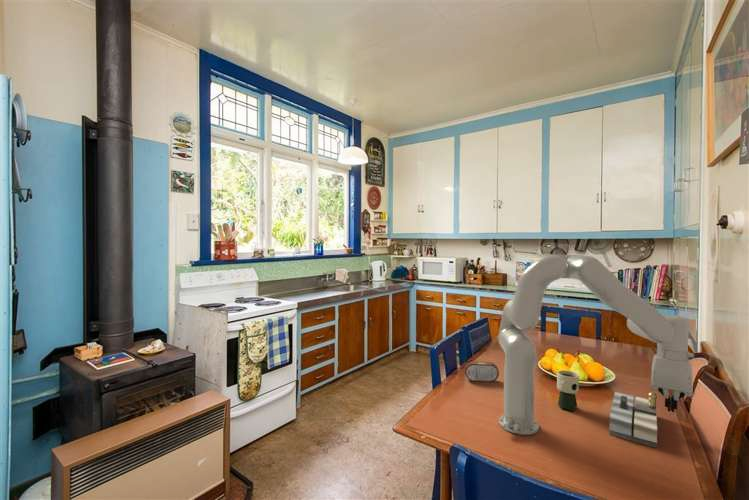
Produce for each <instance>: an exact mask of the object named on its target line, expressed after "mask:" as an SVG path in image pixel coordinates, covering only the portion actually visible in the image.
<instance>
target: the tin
mask: <svg viewBox="0 0 749 500" xmlns="http://www.w3.org/2000/svg"><path fill="white" fill-rule="evenodd" d="M499 370H500V369H498V367H497V365H496V364H495V363H494V362H489V361H470V362H468V363H466V364H465V366H464V367H463V372H464V375H465V377H466V379H468V381H471V382H480V383H481V382H482V383H483V382H484V383H487V382H488V383H493V382H495V381H497V379H498V378H499V375H500V371H499Z"/></svg>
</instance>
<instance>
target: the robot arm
mask: <svg viewBox="0 0 749 500" xmlns="http://www.w3.org/2000/svg"><path fill="white" fill-rule="evenodd" d="M560 279H573V280H578V281H579V282H581V284H583V285H584V287H586V288H587V289H588V290H589V292H591V293H592V294H593V295H594V296H595V297H596V298H597V299H598V300H599V301H600V302H601V303H602V304H604V305H605V306H607V307H608V308H609V309H611V310H613V311H616V312H617V313H619V314H621V315H622V316H624V317H625V318H627V320H626V326H627V328H628V329H629V331H630V332H631V333H633V334H635V335H637V336H639V337H641V338H643V339H646V340H649V341H650V342H653V343H656V346H657V347H656V354H654V355H653V358H652V363H651V371H650V372H651V373H650V374H651V375H650V378H651V379H650V380H651V381H650V383H649V387H650V389H653V390H655V391H657V392H658V393H660V394H661V395H662V396H663V397H664V407H665V408H667V411H668V412H672V413H675V410H678V401H679V400H680V399H682V398H684V397H686V398H687V397H690V398H691V397H694V396H695V394H694V391H693V387H694V382H693V381H694V380H693V367H692V362H691V360H690V359H693V358H695V354H694V353H692V352H690V351H689V350H688V348H689V321H688V319H687V318H686V317H684V316H680V315H676V314H662V313H661V312H660V311H659V310H658V309H657V308H656V307H655V306H653V305H652V304H651V303H649V302H648V301H646V300H645V299H644V298H642V297H641V296H640V295H638V294H637V293H636V292H634V291H633V290H632V289H630V288H629V287H628V286H626V285H625V284H624V283H622V281H621V280H620V279H618V277H617V276H616V275H615V274H613V273H612V271H610V270H609V269H608V268H607V267H606V266H605V265H604V264H603V263H602V262H601V261H600V260H599V259H597V258H595V257H594V256H591V255H590V256H589V255H580V254H557V253H556V254H553V253H540V254H537V255H535V256H534V257H533V258H532V259H530V265H529V266H528V267H527V268H526V269H524V271H523V273H521V275H520V277H519V279H518V281H517V285H516V289H515V293H514V297H512V298H511V299H510V300H508V301H507V302H506V303H505V305H504V306H503V311H502V313H501V314H502V315H501V319H500V320H501V321H500V325H499V330H498V343H499V346H500V347H501V349H502V350H503V351H504V354H505V355H504V356H505V357H504V358H505V359H504V366H503V367H504V368H503V414H501V415H500V416H499V418H498V423H499V425H500V427H501V428H502V429H504V430H505V431H508V432H510V433H513V434H514V435H515V434H516V435H520V436H530V435H534V434H537V433H538V432H539V430H540V426H539V422H538V421H537V420H536V419H535V367H536V360H537V347H536V345H535V343H534V341H533V340H532V338H531V337H529V336H528V335H527V332H529V331H532V330H534V329H535V328H536V327H537V326H538V323H539V321H540V314H541V309H542V302H543V298H544V294H545V291H546V289H547V288H548V286H549V285H550V284H551V283H553V282H555V281H557V280H560ZM669 390H670V391H673V394H672V396H671V395H670V394H669Z"/></svg>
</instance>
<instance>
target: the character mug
mask: <svg viewBox="0 0 749 500" xmlns="http://www.w3.org/2000/svg"><path fill="white" fill-rule="evenodd" d="M579 379H580V375H579V374H578V373H576V372H574V371H571V370H564V369H563V370H561V369H560V370H558V371H557V372H556V388H557V390H558V391H559V395H558V402H557V404H558V406H559V407H561V408H563V409H565V410H567V411H576V410H577V408H578V403H577V397H576V394H578V393H579V390H580V389H579V387H580V383H579V381H580V380H579Z"/></svg>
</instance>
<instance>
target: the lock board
mask: <svg viewBox="0 0 749 500" xmlns="http://www.w3.org/2000/svg"><path fill="white" fill-rule="evenodd" d="M634 399H635V400H634ZM634 402H635V403H638V404H642V405H647V406H648V404H649V398H648V399H647V398H643V397H639V396H635V398H634V395H630V394H626V393H621V392H617V391H614V395H613V401H612V405H611V409H610V414H609V429H608V430H609V433H608V434H609V435H610V436H613V437H616V438H620V439H624V440H628V441H631V442H634V443H639V444H640V445H641V444H642V445H645V446H650V447H653V448H655V449H656V448H658V420H657V419H658V417H657V412H656V413H652V412H647V411H643V410H639V409H635V403H634Z"/></svg>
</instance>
